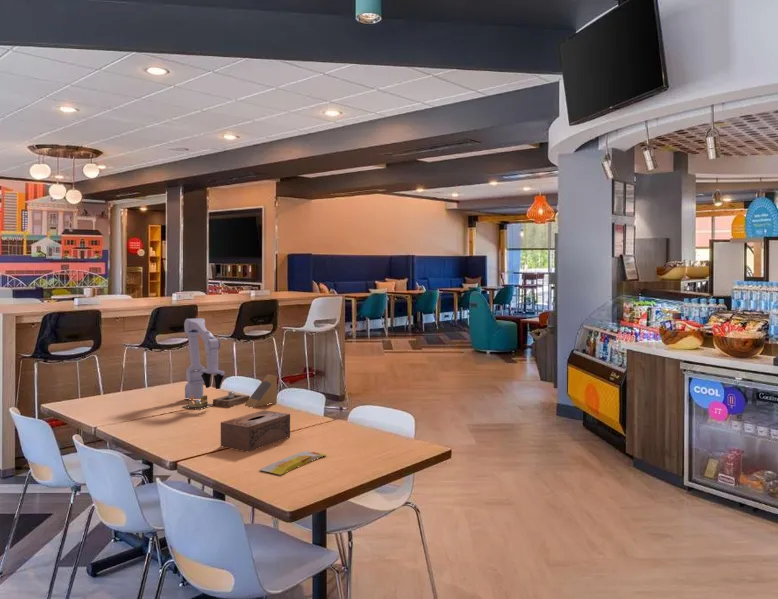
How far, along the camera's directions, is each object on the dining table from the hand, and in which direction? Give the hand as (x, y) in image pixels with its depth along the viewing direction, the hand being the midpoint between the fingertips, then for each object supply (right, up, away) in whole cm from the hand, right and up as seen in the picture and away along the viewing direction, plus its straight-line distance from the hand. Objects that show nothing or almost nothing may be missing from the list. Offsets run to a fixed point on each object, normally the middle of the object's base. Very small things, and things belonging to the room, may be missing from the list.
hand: (212, 388), depth 320 cm
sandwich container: (+24, -10, +5) cm, 26 cm away
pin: (+8, -9, +8) cm, 14 cm away
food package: (+57, -15, -94) cm, 111 cm away
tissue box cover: (+37, -13, -65) cm, 76 cm away
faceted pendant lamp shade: (-7, -9, 0) cm, 11 cm away
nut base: (-7, -9, -1) cm, 12 cm away
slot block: (+8, -9, +8) cm, 14 cm away
